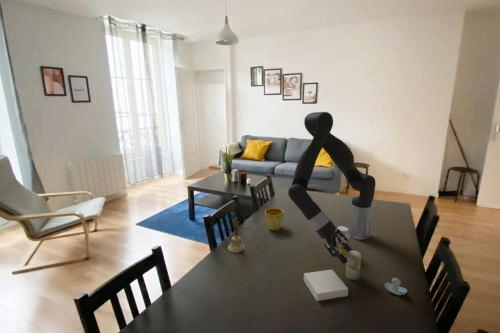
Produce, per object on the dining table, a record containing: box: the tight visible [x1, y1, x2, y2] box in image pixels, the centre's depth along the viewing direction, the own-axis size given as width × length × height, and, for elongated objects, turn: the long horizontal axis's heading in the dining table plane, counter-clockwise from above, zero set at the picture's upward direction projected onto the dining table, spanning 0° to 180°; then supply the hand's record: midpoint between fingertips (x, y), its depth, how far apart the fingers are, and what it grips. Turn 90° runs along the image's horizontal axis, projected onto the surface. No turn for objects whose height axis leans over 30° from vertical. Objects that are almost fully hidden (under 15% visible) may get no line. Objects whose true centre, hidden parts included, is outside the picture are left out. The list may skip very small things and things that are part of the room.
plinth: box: [303, 269, 349, 302], centre depth 105 cm, size 12×12×3 cm
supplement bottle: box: [332, 225, 351, 258], centre depth 127 cm, size 7×7×13 cm
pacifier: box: [384, 277, 408, 296], centre depth 103 cm, size 7×6×6 cm
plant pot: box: [264, 207, 284, 231], centre depth 154 cm, size 10×10×10 cm
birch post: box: [345, 250, 362, 281], centre depth 111 cm, size 5×5×10 cm
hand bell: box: [227, 216, 246, 254], centre depth 132 cm, size 8×8×16 cm
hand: (348, 257), depth 111 cm, fingers open, 8 cm apart
